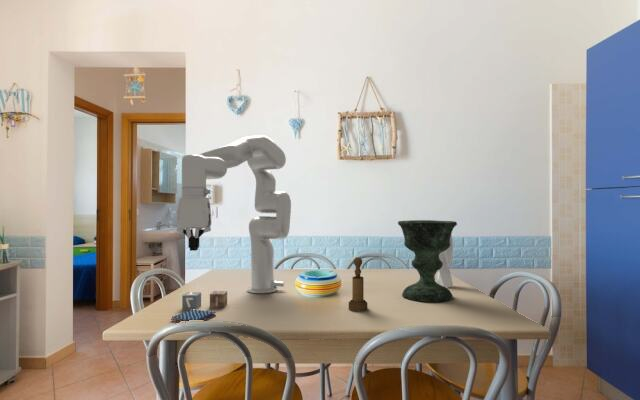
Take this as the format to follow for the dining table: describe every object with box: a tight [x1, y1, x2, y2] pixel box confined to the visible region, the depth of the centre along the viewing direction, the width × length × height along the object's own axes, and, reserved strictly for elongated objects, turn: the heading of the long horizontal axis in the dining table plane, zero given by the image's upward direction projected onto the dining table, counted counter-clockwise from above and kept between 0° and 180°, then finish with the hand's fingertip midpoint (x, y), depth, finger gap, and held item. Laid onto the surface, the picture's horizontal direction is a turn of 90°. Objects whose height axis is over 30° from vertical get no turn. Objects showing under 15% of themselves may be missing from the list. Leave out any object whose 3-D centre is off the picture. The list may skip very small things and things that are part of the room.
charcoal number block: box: [181, 291, 202, 311], centre depth 135 cm, size 5×5×5 cm
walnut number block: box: [209, 290, 228, 309], centre depth 137 cm, size 5×5×5 cm
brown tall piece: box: [348, 257, 369, 312], centre depth 133 cm, size 7×6×18 cm
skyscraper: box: [434, 233, 454, 288], centre depth 170 cm, size 8×8×28 cm
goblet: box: [397, 219, 458, 303], centre depth 150 cm, size 22×23×30 cm
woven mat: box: [170, 309, 217, 323], centre depth 122 cm, size 10×11×2 cm
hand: (193, 250), depth 122 cm, fingers closed
